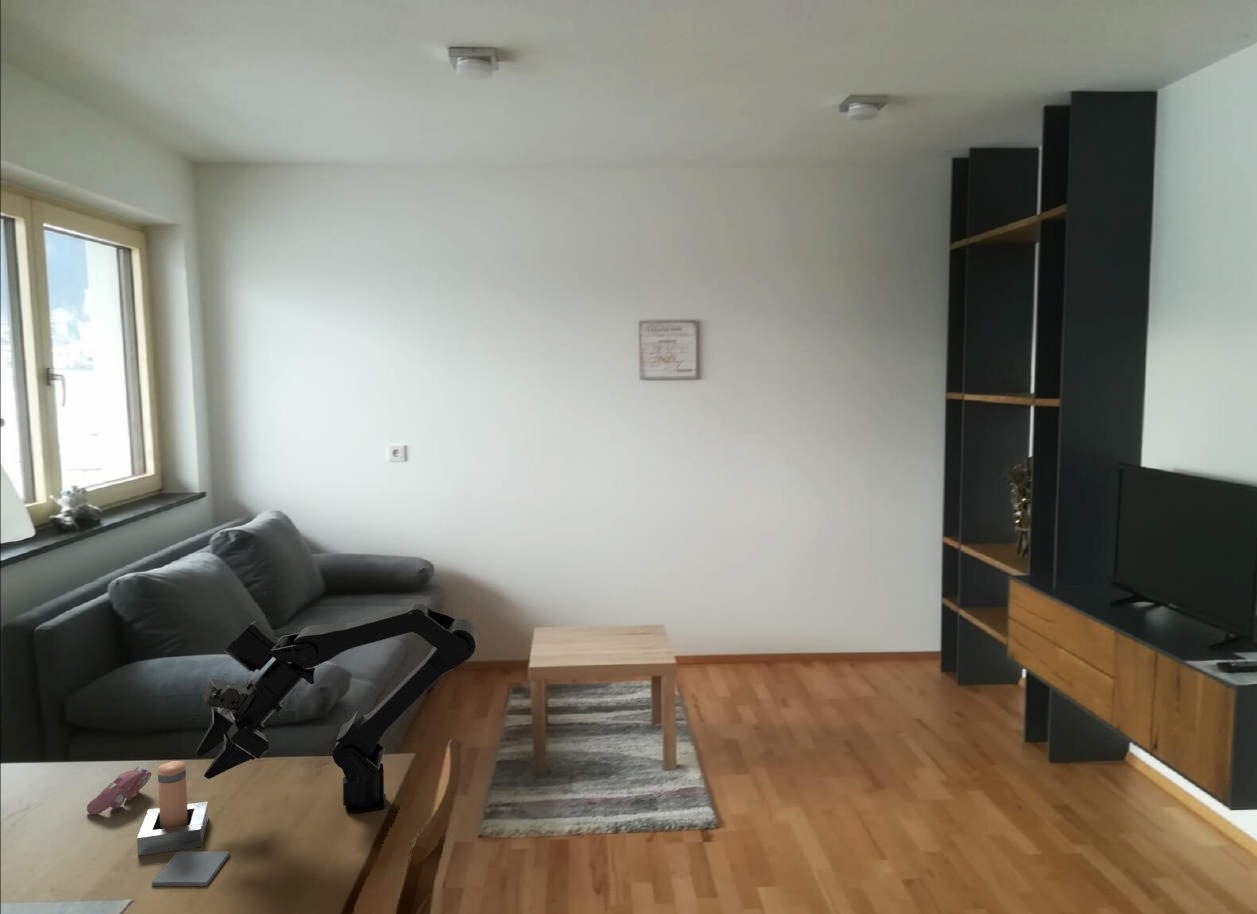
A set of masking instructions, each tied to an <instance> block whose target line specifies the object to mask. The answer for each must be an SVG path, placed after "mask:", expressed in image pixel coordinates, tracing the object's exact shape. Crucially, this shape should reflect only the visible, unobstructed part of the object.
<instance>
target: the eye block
mask: <svg viewBox="0 0 1257 914" xmlns="http://www.w3.org/2000/svg"><path fill="white" fill-rule="evenodd" d="M187 812H188V825H186V826H179V827H172V828H165V829H160V810H159V807H158V808H149V809H147V812H146V815H145V816H144V819H143V822H142V825H141V827H140V830H139V833H138V835H137V838H136V842H137V843H136V845H137V857H140V856H141V857H142V856H148V855H154V854H155V855H156V854H160V853H168V852H174V851H182V850H188V849H193V848H194V849H195V848H200V847H201V848H202V846H203V842H204V837H205V833H206V830H207V825H208V821H209V801H201V802H200V801H199V802H195V803H187Z"/></svg>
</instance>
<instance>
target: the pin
mask: <svg viewBox="0 0 1257 914" xmlns="http://www.w3.org/2000/svg"><path fill="white" fill-rule="evenodd" d="M186 766H187V765H186V762H185V761H181V760H175V761H169V762H168V761H167V762H165V763H162V764H161V765H159V767H157V781H158V782H157V783H158V785H157V787H158V802H159V803H158V805H159V807H158V808H159V810H160V829H165V828H172V827H179V826H186V825H188V812H187V804H188V791H187V789H188V787H187V767H186Z"/></svg>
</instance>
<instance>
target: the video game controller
mask: <svg viewBox="0 0 1257 914" xmlns="http://www.w3.org/2000/svg"><path fill="white" fill-rule="evenodd" d="M151 777H152V772H151V771H149V770H147V768H144V767H142V768H141V767H140V766H137V767H136V768H135V769H131V770H126V771H124V772H122V773H120V774H119V775H118V776H117V777H116V778H115V779H114V780H113V781H112V782H110V783H109V784H108V785H107V786H106V787H105V788H104V789H103V790H102V791H100V793H99V794H98V795H97V796H96V797H95V798H93V799H92V800H90V801H89V802H88V804H87V805H86V811H87V813H88V815H92V816H93V815H100V814H101V813H103V812H105V811H106V810H108V809H109V808H111V809H112V810H117V809H119V808H121V806H122V805H123V803H124V802H125V800H127V801H131V800H133V799H134V798H135V797H136V796H137V794H138V793H139V791H140V790H141V789H143V787H144V786H145V785H146V784H147V783H148V782H149V780H150V779H151Z"/></svg>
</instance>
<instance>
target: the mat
mask: <svg viewBox="0 0 1257 914" xmlns="http://www.w3.org/2000/svg"><path fill="white" fill-rule="evenodd" d="M229 857H230V851H177V852H176V853H175V854H174V855H173V857H171V858H170V860H169V861H168V862H167V864H166V865H165V866H164V867H163V868H162V870H161V871H160V872H159V873H157V875H156V877H155V878H154V879H153V880H152V881H151V887H207V886H208V885H209V884H210V883H211V881H212V880H213V878H214V877H215V875H216V874H217V873H218V871H219V870H220V869H221V867H222V866H223V864H224V863H225V862H226V861H227V859H228V858H229Z"/></svg>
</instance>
